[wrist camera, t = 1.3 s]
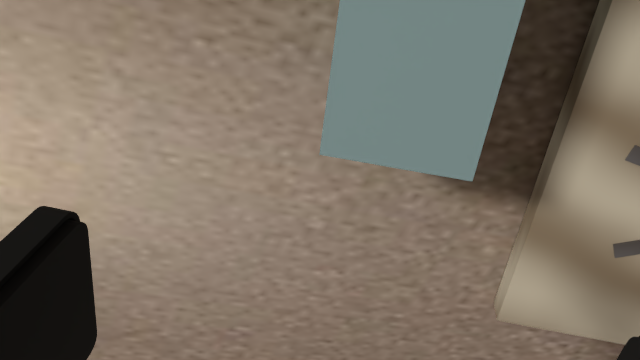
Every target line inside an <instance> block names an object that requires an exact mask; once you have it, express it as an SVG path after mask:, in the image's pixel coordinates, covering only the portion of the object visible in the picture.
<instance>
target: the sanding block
mask: <svg viewBox="0 0 640 360" xmlns="http://www.w3.org/2000/svg"><path fill="white" fill-rule="evenodd" d="M524 4H525V0H340V4H339V12H338V19H337V27H336V34H335V42H334V49H333V57H332V64H331V72H330V79H329V87H328V94H327V102H326V109H325V117H324V124H323V132H322V139H321V147H320V154H319V155H325V156H330V157H336V158H342V159H347V160H353V161H359V162H364V163H370V164H376V165H381V166H387V167H393V168H398V169H404V170H410V171H415V172H421V173H426V174H432V175H438V176H443V177H449V178H455V179H460V180H466V181H473V178H474V175H475V171H476V168H477V164H478V161H479V157H480V154H481V151H482V147H483V144H484V140H485V137H486V134H487V130H488V127H489V123H490V120H491V116H492V113H493V110H494V106H495V103H496V99H497V96H498V93H499V89H500V86H501V82H502V79H503V75H504V72H505V69H506V65H507V62H508V58H509V55H510V52H511V48H512V45H513V41H514V38H515V34H516V31H517V28H518V24H519V21H520V17H521V14H522V10H523V7H524Z"/></svg>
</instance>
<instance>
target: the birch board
mask: <svg viewBox="0 0 640 360" xmlns="http://www.w3.org/2000/svg"><path fill="white" fill-rule="evenodd" d="M494 307H495V313H496V318H497V321H503V322H508V323H513V324H518V325H524V326H529V327H534V328H539V329H545V330H550V331H555V332H560V333H566V334H571V335H576V336H581V337H587V338H592V339H597V340H602V341H608V342H613V343H618V344H623V345H626V343H627V341H628V340H629V339H630V338H632V337H639V336H640V0H599V3H598V6H597V9H596V12H595V15H594V18H593V20H592V23H591V26H590V29H589V32H588V35H587V38H586V40H585V43H584V46H583V49H582V52H581V55H580V57H579V60H578V63H577V66H576V69H575V72H574V75H573V77H572V80H571V83H570V86H569V89H568V92H567V95H566V97H565V100H564V103H563V106H562V109H561V112H560V115H559V117H558V120H557V123H556V126H555V129H554V132H553V135H552V137H551V140H550V143H549V146H548V149H547V152H546V155H545V157H544V160H543V163H542V166H541V169H540V172H539V175H538V177H537V180H536V183H535V186H534V189H533V192H532V195H531V197H530V200H529V203H528V206H527V209H526V212H525V215H524V217H523V220H522V223H521V226H520V229H519V232H518V234H517V237H516V240H515V243H514V246H513V249H512V252H511V254H510V257H509V260H508V263H507V266H506V269H505V272H504V274H503V277H502V280H501V283H500V286H499V289H498V292H497V294H496V297H495V300H494Z"/></svg>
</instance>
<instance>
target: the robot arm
mask: <svg viewBox="0 0 640 360" xmlns="http://www.w3.org/2000/svg"><path fill="white" fill-rule="evenodd" d="M96 337H97V327H96V315H95V304H94V293H93V282H92V271H91V259H90V248H89V237H88V228H87V225H86V224H85V223H83V222H80V219H79V216H78V215H77V213H75V212H71V211H66V210H61V209H57V208H52V207H47V206H41V207H39V208H37V209H36V210H34V211H33V212H32V213H31V214H30V215H29V216H28V217H27V218H26V219H25V220H23V221H22V222H21V223H20V224H19V225H18V226H17V227H16V228H15V229H14V230H12V231H11V232H10V233H9V234H8V235H7V236H6V237H5V238H4V239H3V240H2V241H0V360H86V359H87V358H88V356H89V355H90V353H91V352H92V350H93V347H94V345H95V342H96ZM617 360H640V336H639V337H632V338H630V339H629V340H628V341H627V343H626V345H625V346H624V348H623V350H622V351H621V353H620V355H619V357H618V358H617Z"/></svg>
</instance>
